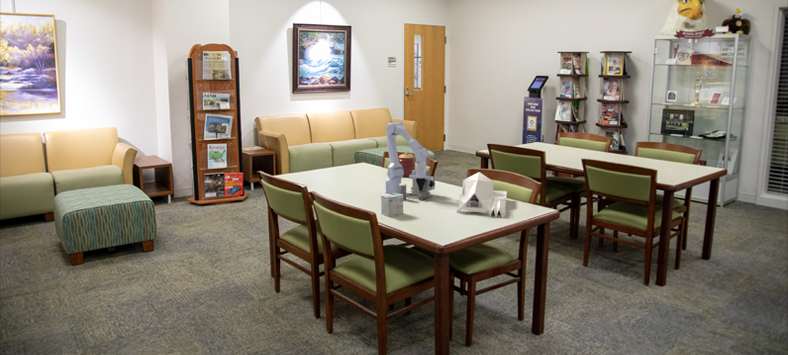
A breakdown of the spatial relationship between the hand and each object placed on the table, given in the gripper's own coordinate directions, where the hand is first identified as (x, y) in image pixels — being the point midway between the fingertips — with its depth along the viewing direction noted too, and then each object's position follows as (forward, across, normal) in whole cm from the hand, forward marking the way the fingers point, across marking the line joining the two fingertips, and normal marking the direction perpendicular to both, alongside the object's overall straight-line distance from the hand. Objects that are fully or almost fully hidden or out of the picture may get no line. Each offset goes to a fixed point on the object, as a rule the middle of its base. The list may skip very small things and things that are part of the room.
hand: (420, 190), depth 344 cm
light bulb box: (+5, -2, -41) cm, 41 cm away
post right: (+2, +2, -6) cm, 7 cm away
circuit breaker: (+5, -1, +8) cm, 9 cm away
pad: (+4, -4, 0) cm, 6 cm away
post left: (+4, -8, -8) cm, 12 cm away
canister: (+5, -32, +59) cm, 68 cm away
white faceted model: (+5, +41, -6) cm, 42 cm away
